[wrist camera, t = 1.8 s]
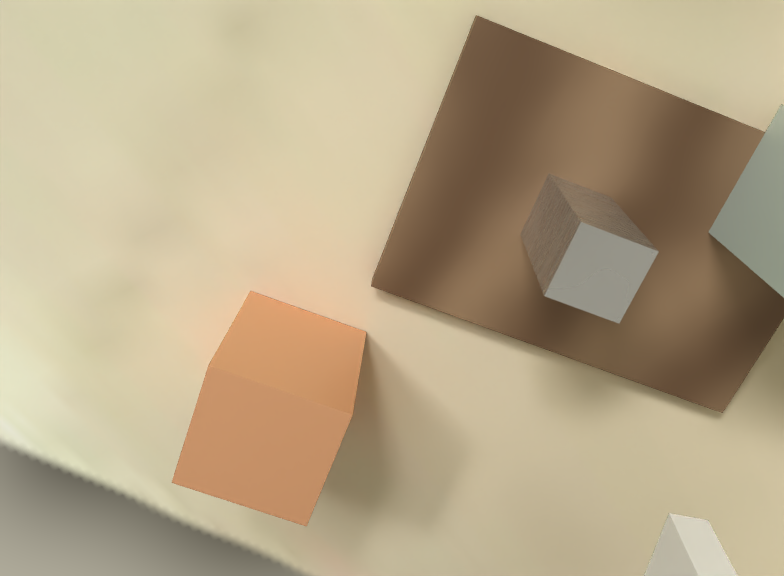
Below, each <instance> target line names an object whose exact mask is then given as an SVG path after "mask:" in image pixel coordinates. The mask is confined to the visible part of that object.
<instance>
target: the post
mask: <svg viewBox="0 0 784 576" xmlns="http://www.w3.org/2000/svg"><path fill="white" fill-rule="evenodd" d="M520 235H521V237H522V240H523V243H524V245H525V248H526V250H527V253H528V256H529V258H530V261H531V263H532V266H533V268H534V271H535V274H536V276H537V279H538V281H539V284H540V287H541V289H542V292H543V294H544V296H545V297H548V298H551V299H554V300H556V301H559V302H562V303H564V304H567V305H570V306H573V307H575V308H578V309H581V310H583V311H586V312H589V313H592V314H594V315H597V316H600V317H602V318H605V319H608V320H611V321H613V322H616V323H620V321H621V319H622V318H623V316H624V314H625V312H626V310H627V309H628V307H629V305H630V303H631V301H632V299H633V298H634V296H635V294H636V292H637V290H638V289H639V287H640V285H641V283H642V281H643V279H644V278H645V276H646V274H647V272H648V270H649V269H650V267H651V265H652V263H653V261H654V259H655V258H656V256H657V254H658V252H659V251H658V250H657V249H656V248H655V247H654V246H653V244H652V243H651V242H650V241H649V240H648V239H647V238H646V237H645V235H644V234H643V233H642V232H641V231H640V230H639V229H638V227H637V226H636V225H635V224H634V223H633V222H632V221H631V219H630V218H629V217H628V216H627V215H626V214H625V213H624V212H623V210H622V209H621V208H620V207H619V206H618V205H617V204H616V202H615V201H614V200H613V199H612V198H611V197H609V196H606V195H604V194H601V193H598V192H596V191H593V190H591V189H588V188H585V187H583V186H580V185H578V184H575V183H573V182H570V181H567V180H565V179H562V178H560V177H557V176H554V175H552V174H548V176H547V178H546V180H545V182H544V185H543V187H542V189H541V191H540V193H539V195H538V197H537V200H536V202H535V204H534V206H533V208H532V210H531V212H530V215H529V217H528V219H527V221H526V223H525V225H524V227H523V230H522V232H521V234H520Z"/></svg>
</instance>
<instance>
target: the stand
mask: <svg viewBox="0 0 784 576" xmlns="http://www.w3.org/2000/svg"><path fill="white" fill-rule="evenodd" d="M764 134H765V132H763V131H760V130H758V129H755V128H753V127H750V126H748V125H746V124H743V123H741V122H738V121H736V120H733V119H731V118H728V117H726V116H723V115H721V114H718V113H716V112H713V111H711V110H709V109H706V108H704V107H701V106H699V105H696V104H694V103H691V102H689V101H686V100H684V99H681V98H679V97H677V96H674V95H672V94H669V93H667V92H664V91H662V90H659V89H657V88H654V87H652V86H649V85H647V84H644V83H642V82H640V81H637V80H635V79H632V78H630V77H627V76H625V75H622V74H620V73H617V72H615V71H612V70H610V69H608V68H605V67H603V66H600V65H598V64H595V63H593V62H590V61H588V60H585V59H583V58H580V57H578V56H575V55H573V54H571V53H568V52H566V51H563V50H561V49H558V48H556V47H553V46H551V45H548V44H546V43H543V42H541V41H538V40H536V39H534V38H531V37H529V36H526V35H524V34H521V33H519V32H516V31H514V30H511V29H509V28H506V27H504V26H502V25H499V24H497V23H494V22H492V21H489V20H487V19H484V18H482V17H479V16H477V15H476V17H475V19H474V22H473V24H472V27H471V29H470V32H469V35H468V37H467V40H466V42H465V45H464V47H463V50H462V52H461V55H460V57H459V60H458V62H457V65H456V68H455V70H454V73H453V75H452V78H451V80H450V83H449V85H448V88H447V90H446V93H445V95H444V98H443V101H442V103H441V106H440V108H439V111H438V113H437V116H436V118H435V121H434V123H433V126H432V129H431V131H430V134H429V136H428V139H427V141H426V144H425V146H424V149H423V151H422V154H421V156H420V159H419V162H418V164H417V167H416V169H415V172H414V174H413V177H412V179H411V182H410V184H409V187H408V189H407V192H406V195H405V197H404V200H403V202H402V205H401V207H400V210H399V212H398V215H397V217H396V220H395V223H394V225H393V228H392V230H391V233H390V235H389V238H388V240H387V243H386V245H385V248H384V250H383V253H382V256H381V258H380V261H379V263H378V266H377V268H376V271H375V273H374V276H373V278H372V284H371V286H372V287H375V288H378V289H380V290H383V291H386V292H389V293H392V294H394V295H397V296H400V297H403V298H405V299H408V300H411V301H414V302H416V303H419V304H422V305H425V306H428V307H430V308H433V309H436V310H439V311H441V312H444V313H447V314H450V315H452V316H455V317H458V318H461V319H464V320H466V321H469V322H472V323H475V324H477V325H480V326H483V327H486V328H488V329H491V330H494V331H497V332H500V333H502V334H505V335H508V336H511V337H513V338H516V339H519V340H522V341H524V342H527V343H530V344H533V345H536V346H538V347H541V348H544V349H547V350H549V351H552V352H555V353H558V354H560V355H563V356H566V357H569V358H572V359H574V360H577V361H580V362H583V363H585V364H588V365H591V366H594V367H596V368H599V369H602V370H605V371H608V372H610V373H613V374H616V375H619V376H621V377H624V378H627V379H630V380H632V381H635V382H638V383H641V384H644V385H646V386H649V387H652V388H655V389H657V390H660V391H663V392H666V393H668V394H671V395H674V396H677V397H680V398H682V399H685V400H688V401H691V402H693V403H696V404H699V405H702V406H704V407H707V408H710V409H713V410H716V411H718V412H721V413H723V411H724V410H725V408H726V407H727V405H728V404H729V402H730V401H731V399H732V397H733V396H734V394H735V393H736V391H737V390H738V388H739V387H740V385H741V383H742V382H743V380H744V379H745V377H746V376H747V374H748V373H749V371H750V370H751V368H752V366H753V365H754V363H755V362H756V360H757V359H758V357H759V356H760V354H761V352H762V351H763V349H764V348H765V346H766V345H767V343H768V342H769V340H770V339H771V337H772V335H773V334H774V332H775V331H776V329H777V328H778V326H779V325H780V323H781V321H782V320H783V318H784V298H783V297H782V296H781V295H780V294H779V293H778V292H776V291H775V290H774V289H773V288H772V287H771V286H770V285H768V284H767V283H766V282H765V281H764V280H763V279H762V278H760V277H759V276H758V275H757V274H756V273H755V272H753V271H752V270H751V269H750V268H749V267H748V266H747V265H745V264H744V263H743V262H742V261H741V260H740V259H739V258H737V257H736V256H735V255H734V254H733V253H732V252H730V251H729V250H728V249H727V248H726V247H725V246H724V245H722V244H721V243H720V242H719V241H718V240H717V239H716V238H714V237H713V236H712V235H711V234H710V233H709V230H710V228H711V227H712V225H713V223H714V221H715V220H716V218H717V216H718V214H719V213H720V211H721V209H722V207H723V206H724V204H725V202H726V200H727V199H728V197H729V195H730V193H731V192H732V190H733V188H734V186H735V185H736V183H737V181H738V180H739V178H740V176H741V174H742V173H743V171H744V169H745V167H746V166H747V164H748V162H749V160H750V159H751V157H752V155H753V153H754V152H755V150H756V148H757V146H758V145H759V143H760V141H761V139H762V138H763V136H764ZM548 174H552V175H554V176H557V177H560V178H562V179H565V180H567V181H570V182H573V183H575V184H578V185H580V186H583V187H585V188H588V189H591V190H593V191H596V192H598V193H601V194H604V195H606V196H609V197H611V198H612V199H613V200H614V201H615V202H616V204H617V205H618V206H619V207H620V208H621V209H622V210H623V212H624V213H625V214H626V215H627V216H628V217H629V218H630V219H631V221H632V222H633V223H634V224H635V225H636V226H637V227H638V229H639V230H640V231H641V232H642V233H643V234H644V235H645V237H646V238H647V239H648V240H649V241H650V242H651V243H652V244H653V246H654V247H655V248H656V249H657V250H658V251H659V252H658V254H657V256H656V258H655V259H654V261H653V263H652V265H651V267H650V269H649V270H648V272H647V274H646V276H645V278H644V279H643V281H642V283H641V285H640V287H639V289H638V290H637V292H636V294H635V296H634V298H633V299H632V301H631V303H630V305H629V307H628V309H627V310H626V312H625V314H624V316H623V318H622V319H621V321H620V323H616V322H613V321H611V320H608V319H605V318H602V317H600V316H597V315H594V314H592V313H589V312H586V311H583V310H581V309H578V308H575V307H573V306H570V305H567V304H564V303H562V302H559V301H556V300H554V299H551V298H548V297H545V296H544V294H543V292H542V289H541V287H540V284H539V281H538V279H537V276H536V274H535V271H534V268H533V266H532V263H531V261H530V258H529V256H528V253H527V250H526V248H525V245H524V243H523V240H522V237H521V235H520V234H521V232H522V230H523V227H524V225H525V223H526V221H527V219H528V217H529V215H530V212H531V210H532V208H533V206H534V204H535V202H536V200H537V197H538V195H539V193H540V191H541V189H542V187H543V185H544V182H545V180H546V178H547V176H548Z"/></svg>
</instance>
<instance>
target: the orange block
mask: <svg viewBox="0 0 784 576" xmlns="http://www.w3.org/2000/svg"><path fill="white" fill-rule="evenodd" d="M365 337H366V332H365V331H362V330H359V329H356V328H354V327H351V326H348V325H345V324H342V323H340V322H337V321H334V320H331V319H328V318H325V317H323V316H320V315H317V314H314V313H311V312H308V311H306V310H303V309H300V308H297V307H294V306H292V305H289V304H286V303H283V302H280V301H277V300H275V299H272V298H269V297H266V296H263V295H261V294H258V293H255V292H252V291H250V293H249V295H248V297H247V298H246V300H245V302H244V304H243V305H242V307H241V309H240V311H239V312H238V314H237V316H236V318H235V320H234V321H233V323H232V325H231V327H230V328H229V330H228V332H227V334H226V335H225V337H224V339H223V341H222V343H221V344H220V346H219V348H218V350H217V351H216V353H215V355H214V357H213V358H212V360H211V362H210V364H209V366H208V369H207V372H206V375H205V378H204V381H203V385H202V388H201V391H200V394H199V397H198V400H197V404H196V407H195V410H194V413H193V416H192V419H191V423H190V426H189V429H188V432H187V435H186V439H185V442H184V445H183V448H182V451H181V454H180V458H179V461H178V464H177V467H176V470H175V473H174V477H173V480H172V483H174V484H177V485H180V486H184V487H187V488H190V489H193V490H196V491H199V492H202V493H205V494H208V495H211V496H214V497H218V498H221V499H224V500H227V501H230V502H233V503H236V504H239V505H242V506H245V507H248V508H251V509H255V510H258V511H261V512H264V513H267V514H270V515H273V516H276V517H279V518H282V519H285V520H289V521H292V522H295V523H298V524H301V525H304V526H307V524H308V521H309V519H310V517H311V514H312V512H313V509H314V507H315V505H316V502H317V500H318V497H319V495H320V492H321V490H322V488H323V485H324V483H325V480H326V478H327V476H328V473H329V471H330V468H331V466H332V464H333V461H334V459H335V456H336V454H337V451H338V449H339V447H340V444H341V442H342V439H343V437H344V435H345V432H346V430H347V427H348V425H349V423H350V420H351V418H352V415H353V410H354V404H355V398H356V392H357V386H358V380H359V374H360V368H361V362H362V356H363V350H364V343H365Z"/></svg>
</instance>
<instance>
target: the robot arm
mask: <svg viewBox="0 0 784 576" xmlns="http://www.w3.org/2000/svg"><path fill="white" fill-rule="evenodd" d="M644 576H738V575H737V573H736V571H735V570H734V568H733V566H732V564H731V562H730V560H729V558H728V556H727V555H726V553H725V551H724V549H723V547H722V545H721V543H720V541H719V539H718V538H717V536H716V534H715V532H714V530H713V528H712V526H711V524H710V523H709V521H708V520H705V519H699V518H694V517H688V516H683V515H677V514H672V513H669V515H668V517H667V520H666V522H665V525H664V527H663V530H662V532H661V535H660V537H659V540H658V542H657V545H656V547H655V550H654V552H653V555H652V557H651V560H650V562H649V565H648V567H647V570H646V572H645V575H644Z"/></svg>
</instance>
